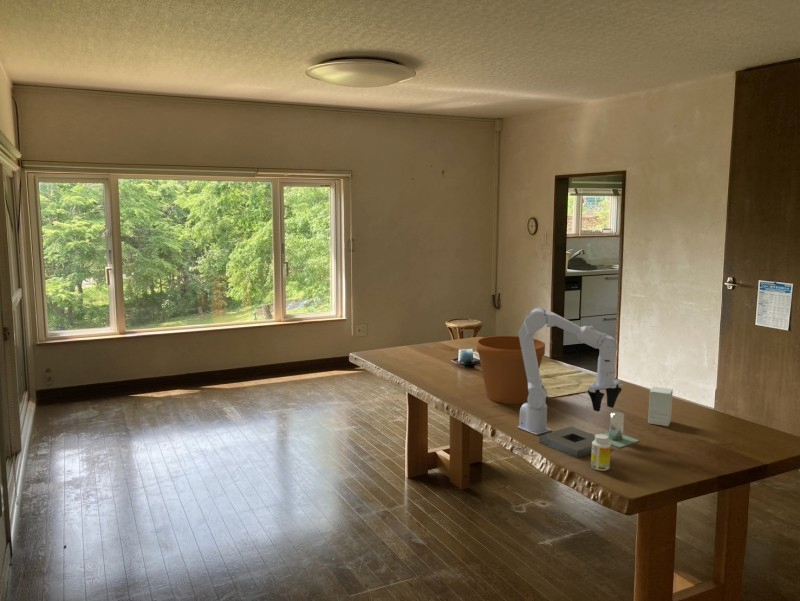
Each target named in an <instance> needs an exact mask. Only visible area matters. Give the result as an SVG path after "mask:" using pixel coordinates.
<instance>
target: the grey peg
mask: <svg viewBox="0 0 800 601" xmlns="http://www.w3.org/2000/svg"><path fill="white" fill-rule="evenodd" d="M609 416H610V417H609V429H608V430H609V431H608V432H609V439H610V440H613V441H622V440H623V435H624V423H625V422H624V420H625V414H624V412H621V411H611V412H610V414H609Z"/></svg>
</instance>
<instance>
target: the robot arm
mask: <svg viewBox="0 0 800 601" xmlns="http://www.w3.org/2000/svg"><path fill="white" fill-rule="evenodd" d="M545 326H546V328H552V327H558V328H559V329H561V330H564V331H566V332H569V333H570V334H573V335H575V336H577V340H578V341H579V342H581V343H582V344H586V345H587V346H590V347H592V348H593V349H598V350H599V354H598V358H597V370H596V382H594V383H592V384H591V385H588V387H589V388H588V389H587V393H588V395H589V398H590V400H591V404H592V410H593V411H594V412H600V411H601V406H602V401H603V398H604V396H605V393H604V392H601V391H603V390H605V391H606V406H607V407H609V408H614V407H615V404H616V401H617V399H618V397H619V395H620V393H621V392H622V389H623V388H622V387H621V380H620V379H619V380H618V379H615V374H616V361H617V360H616V355H617V354H616V352H617V351H618V345H617V341H616V339H615V338H614V337H613V336H612V335H611V334H607V333H606V332H603V333H602V332H601V331H598V330H596V329H594V326H592V325H589V326H588V325H584V326H579V325H578V324H576V323H574V322H572V321H571V320H568V319H567V318H565V317H563V316H561V315H559V314H557V313H555V312H553V311H550V310H547V309H544V308H543V307H539V306H538V307H534V308H533V309H531V310H530V312H529V313H527V315H526V316H525V319H524V320H523V323H522V325H521V327H520V330H519V331H518V337H519V340H520V345H521V350H522V355H523V360H524V365H525V370H526V376H527V381H528V392H529V395H528V399H527V401H528V402H526V403H522V405H521V407H520V409H519V421H518V422H519V423H518V424H519V425H517V428H518V429H521V430H523V431H525V432H527V433H531V434H533V435H535V436H538V435H539V436H540V435H543V434H546V433H550V432H552V429H551V428H549V427H547V423H548V420H547V419H548V404H547V403H546V400H547V396H548V392H547V389H546V388H545V386H544V384H543V381H542V378H541V373H540V368H539V367H538V362H537V356H536V351H535V346H534V341H533V339H534V336H535V335H536V333H537V332H538V331H539V330H542V328H543V327H544V328H545Z"/></svg>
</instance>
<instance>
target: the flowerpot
mask: <svg viewBox="0 0 800 601" xmlns="http://www.w3.org/2000/svg"><path fill="white" fill-rule="evenodd" d="M533 341H534V346H535V351H536V356H537V362H538V367H539V369H540V367H541V363H542V360H543V356H544V355H545V354H546V342H544V341H542V340H539V339H535V338H533ZM476 352H477V353H478V357H479V358H478V359H479V363H480V368H481V373H482V377H483V378H482V379H483V382H484V388H485V392H486V393H485V394H486V398H487V399H488V400H490V401H493V402H496V403H498V404H499V403H500V404H506V405H517V404H518V405H519V404H524V403H528V401H527V399H528V395H529V392H528V381H527V376H526V370H525V365H524V360H523V355H522V350H521V345H520V340H519V335H518V336H516V335H493V336H492V335H491V336H486V337H481V338H479V339H477V340H476Z"/></svg>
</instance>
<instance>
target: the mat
mask: <svg viewBox="0 0 800 601" xmlns="http://www.w3.org/2000/svg"><path fill="white" fill-rule="evenodd" d="M603 434H604V435H607V436H608V437H609V431H607V432H605V433H603ZM608 440H609V442H610V444H611V447H612V446H613V447H615V448H618V449H621V448H624V447H627V446H630V445H633V444H636V443H639V442H640V439H638V438H634V437H631V436H628V435H625V434H623V440H622V441H613V440H610V439H608Z"/></svg>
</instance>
